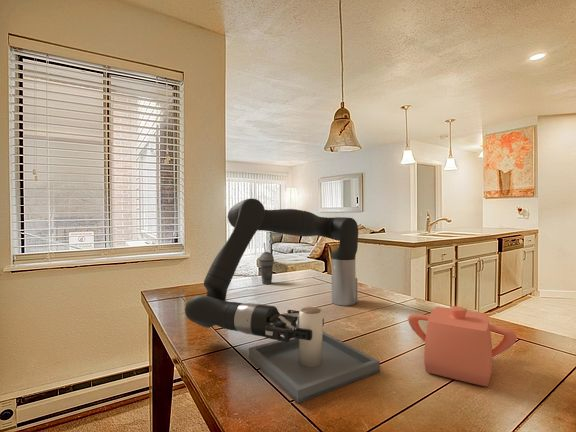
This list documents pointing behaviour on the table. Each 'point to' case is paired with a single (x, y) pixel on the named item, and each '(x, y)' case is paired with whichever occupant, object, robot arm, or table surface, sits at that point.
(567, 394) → the table surface
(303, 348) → the cream cup
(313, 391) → the charcoal tray
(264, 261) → the beverage cup
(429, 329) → the teapot
